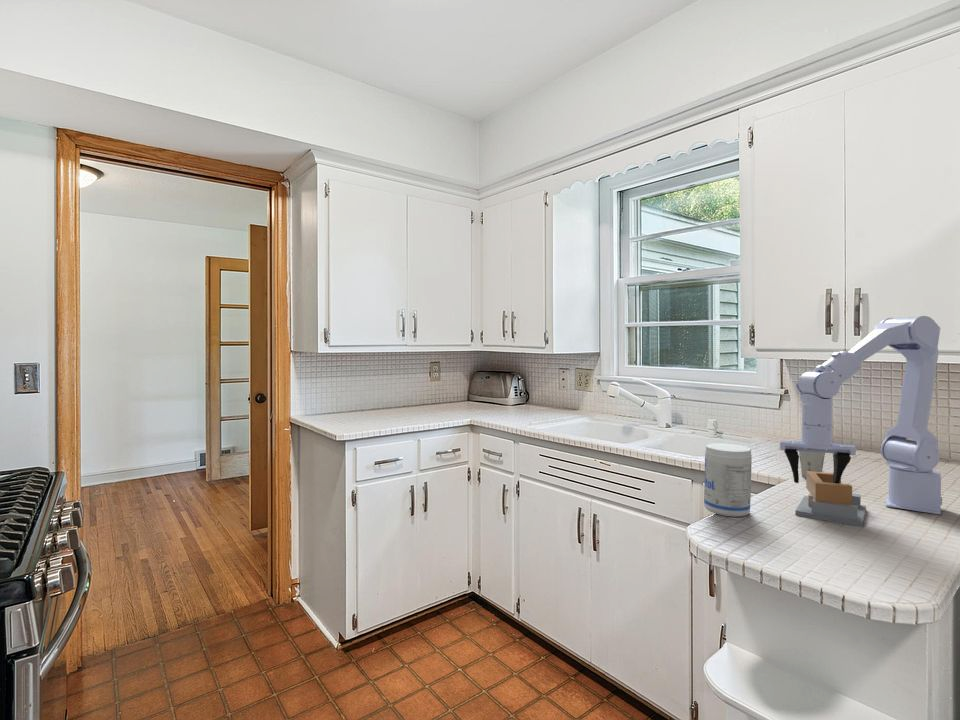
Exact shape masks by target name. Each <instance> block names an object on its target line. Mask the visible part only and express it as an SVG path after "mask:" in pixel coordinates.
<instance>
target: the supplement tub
mask: <svg viewBox="0 0 960 720" xmlns="http://www.w3.org/2000/svg"><path fill="white" fill-rule="evenodd" d="M752 456H753V455H752V449H751V448H750V447H748V446H745V445H740V444H736V443H735V444H734V443H723V442H720V443H719V442H718V443H716V442H715V443H709V444H706V445H705V453H704V479H703V481H704V482H703V483H704V484H703V485H704V486H703V487H704V488H703V489H704V491H703V493H704V494H703V496H704V497H703V505H704V508H705V509H706V510H707V511H708V512H710V513H713V514H716V515H719V516H724V517H734V518H735V517H736V518H737V517H745V516H748V515H749V514H750V512H751V494H752V491H751V490H752V464H753V463H752V460H753V457H752Z"/></svg>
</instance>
